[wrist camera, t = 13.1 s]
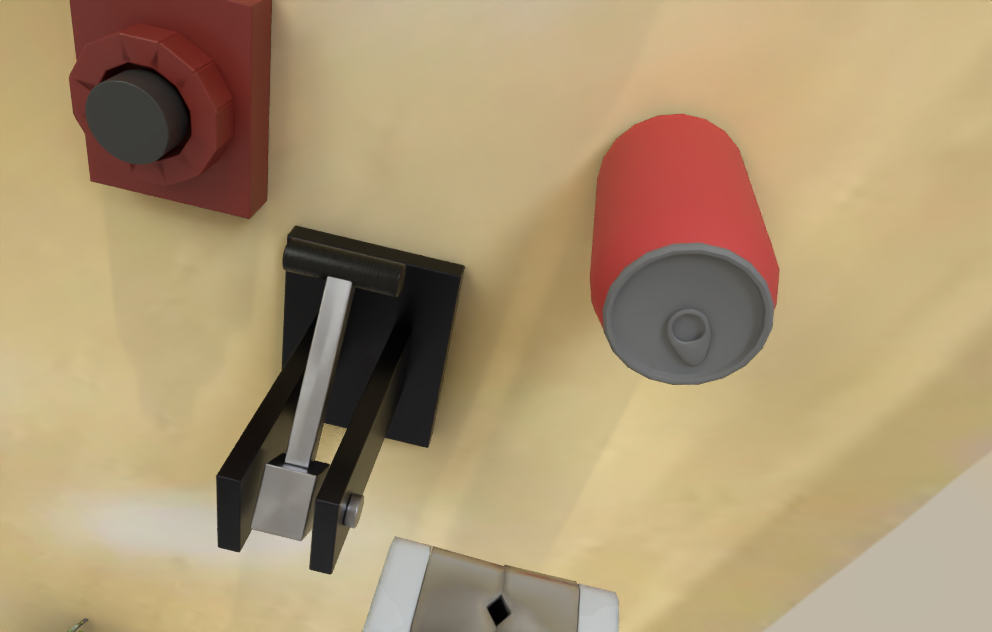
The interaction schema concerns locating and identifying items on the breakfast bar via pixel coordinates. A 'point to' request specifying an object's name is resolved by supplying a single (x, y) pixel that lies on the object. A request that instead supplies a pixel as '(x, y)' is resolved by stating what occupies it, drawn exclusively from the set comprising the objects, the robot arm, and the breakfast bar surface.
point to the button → (136, 116)
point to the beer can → (681, 253)
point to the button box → (185, 94)
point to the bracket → (348, 391)
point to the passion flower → (72, 630)
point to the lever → (316, 382)
